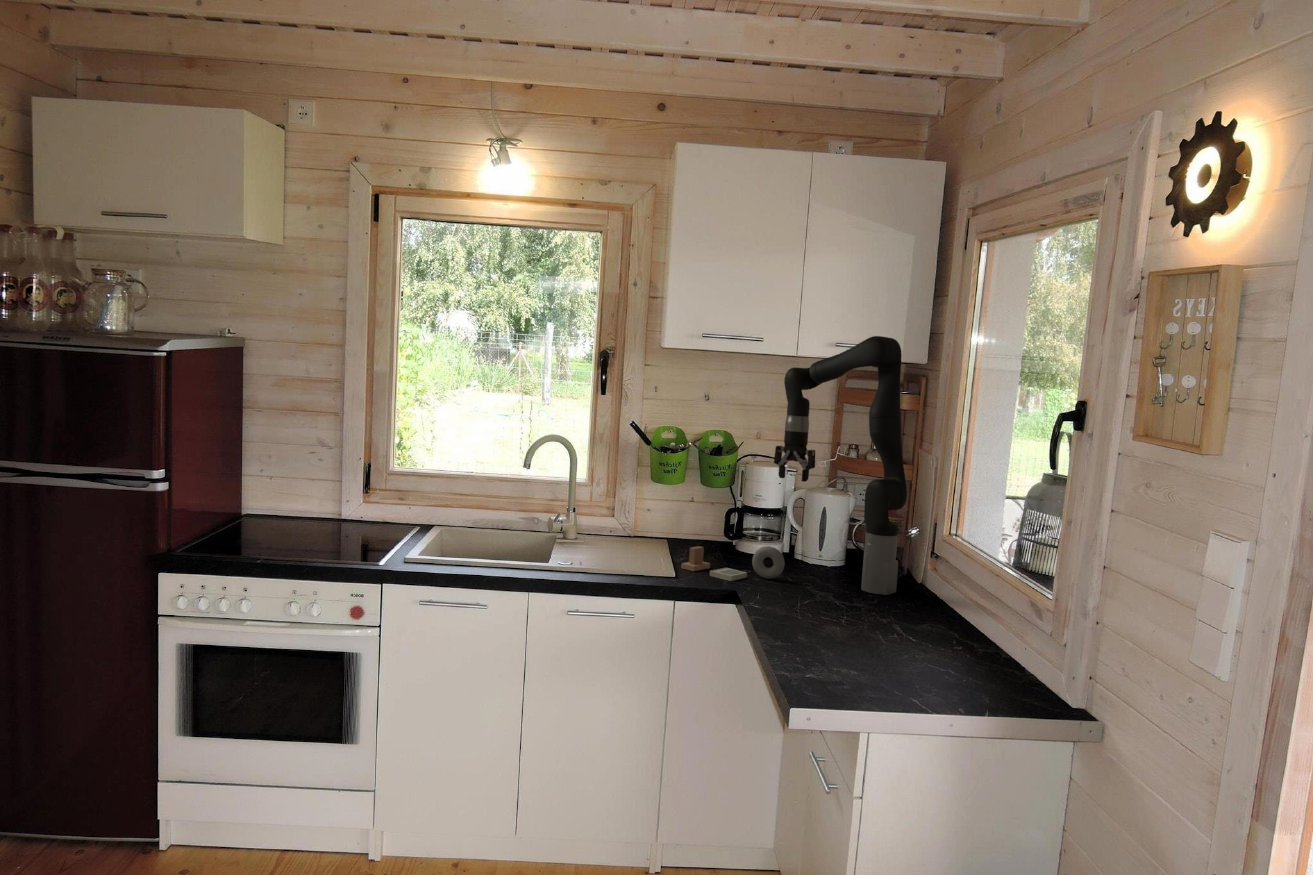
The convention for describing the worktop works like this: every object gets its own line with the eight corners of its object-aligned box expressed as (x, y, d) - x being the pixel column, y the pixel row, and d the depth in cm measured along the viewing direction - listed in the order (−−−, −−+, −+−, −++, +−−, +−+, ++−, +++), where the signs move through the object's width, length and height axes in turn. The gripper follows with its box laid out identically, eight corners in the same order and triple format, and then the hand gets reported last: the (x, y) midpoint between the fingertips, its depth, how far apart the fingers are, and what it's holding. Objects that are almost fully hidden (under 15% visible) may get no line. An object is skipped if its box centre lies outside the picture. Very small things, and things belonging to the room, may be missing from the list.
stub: (709, 568, 290) (711, 547, 290) (693, 571, 284) (694, 550, 284) (697, 564, 294) (698, 544, 293) (681, 568, 288) (682, 547, 287)
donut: (749, 577, 281) (751, 544, 280) (752, 575, 284) (755, 543, 284) (781, 582, 277) (784, 549, 277) (784, 580, 281) (787, 547, 280)
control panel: (746, 577, 281) (747, 572, 281) (730, 581, 275) (730, 575, 275) (725, 572, 286) (726, 567, 286) (709, 575, 280) (709, 570, 280)
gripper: (821, 431, 296) (818, 482, 298) (784, 427, 306) (781, 476, 307) (809, 432, 291) (805, 483, 292) (771, 427, 300) (768, 477, 302)
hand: (793, 479), depth 300 cm, fingers open, 8 cm apart
